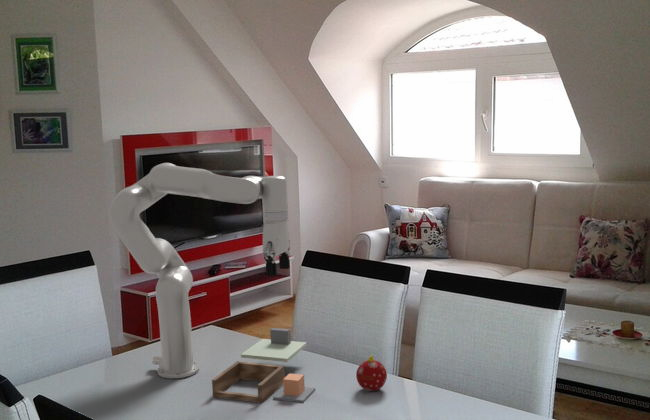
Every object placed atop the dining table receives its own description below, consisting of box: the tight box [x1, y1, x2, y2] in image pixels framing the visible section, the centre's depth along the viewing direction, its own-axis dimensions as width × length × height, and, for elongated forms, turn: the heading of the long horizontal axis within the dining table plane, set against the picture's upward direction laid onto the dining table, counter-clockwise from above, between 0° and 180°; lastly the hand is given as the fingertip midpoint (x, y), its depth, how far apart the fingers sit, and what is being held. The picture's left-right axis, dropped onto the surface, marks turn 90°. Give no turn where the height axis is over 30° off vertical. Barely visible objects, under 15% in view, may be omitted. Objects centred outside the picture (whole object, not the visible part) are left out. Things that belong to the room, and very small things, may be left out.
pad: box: [272, 386, 316, 403], centre depth 201 cm, size 9×9×1 cm
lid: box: [240, 327, 308, 363], centre depth 221 cm, size 15×15×6 cm
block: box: [282, 373, 306, 396], centre depth 200 cm, size 4×4×4 cm
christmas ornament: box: [355, 355, 388, 392], centre depth 202 cm, size 9×9×10 cm
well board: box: [211, 361, 286, 404], centre depth 205 cm, size 15×15×5 cm
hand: (278, 272), depth 218 cm, fingers open, 9 cm apart
